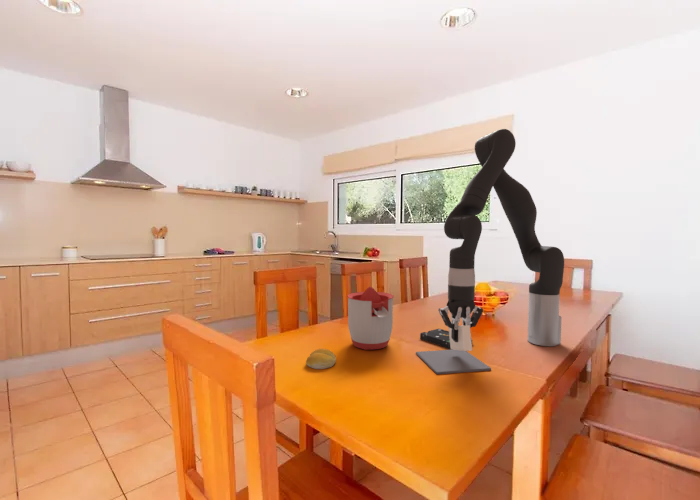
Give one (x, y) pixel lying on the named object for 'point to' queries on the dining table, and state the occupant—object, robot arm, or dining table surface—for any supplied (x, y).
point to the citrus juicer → (370, 318)
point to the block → (462, 339)
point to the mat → (452, 361)
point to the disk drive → (437, 337)
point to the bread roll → (321, 359)
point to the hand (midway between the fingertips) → (460, 340)
